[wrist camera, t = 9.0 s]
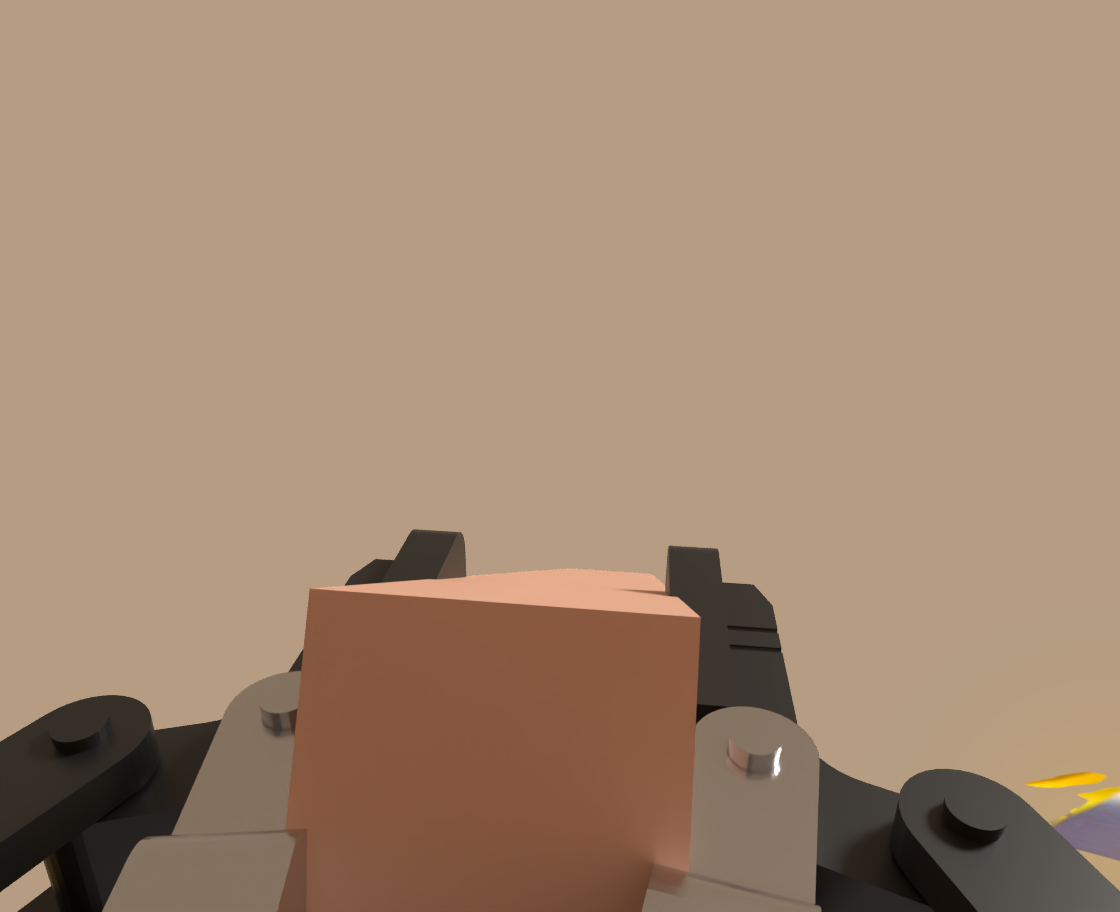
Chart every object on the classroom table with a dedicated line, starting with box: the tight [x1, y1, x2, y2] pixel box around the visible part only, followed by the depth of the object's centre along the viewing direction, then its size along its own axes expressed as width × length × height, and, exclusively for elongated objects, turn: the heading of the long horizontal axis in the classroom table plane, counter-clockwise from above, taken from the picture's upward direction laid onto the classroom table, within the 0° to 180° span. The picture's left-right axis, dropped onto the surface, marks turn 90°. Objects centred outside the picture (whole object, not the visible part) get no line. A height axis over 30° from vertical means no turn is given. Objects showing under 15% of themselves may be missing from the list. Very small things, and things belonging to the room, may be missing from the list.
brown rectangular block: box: [285, 568, 701, 912], centre depth 19 cm, size 26×3×3 cm, turn 175°
